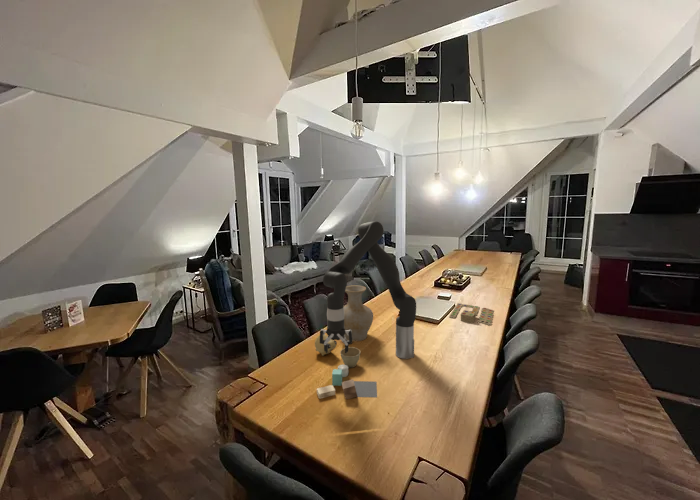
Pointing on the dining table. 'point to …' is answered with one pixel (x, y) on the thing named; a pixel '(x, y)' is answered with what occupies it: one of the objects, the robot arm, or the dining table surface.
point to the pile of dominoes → (473, 314)
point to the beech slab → (325, 391)
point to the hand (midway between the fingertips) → (336, 352)
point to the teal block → (337, 377)
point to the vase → (357, 314)
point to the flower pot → (350, 356)
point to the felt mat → (366, 388)
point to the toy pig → (320, 347)
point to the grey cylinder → (344, 370)
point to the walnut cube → (349, 389)
